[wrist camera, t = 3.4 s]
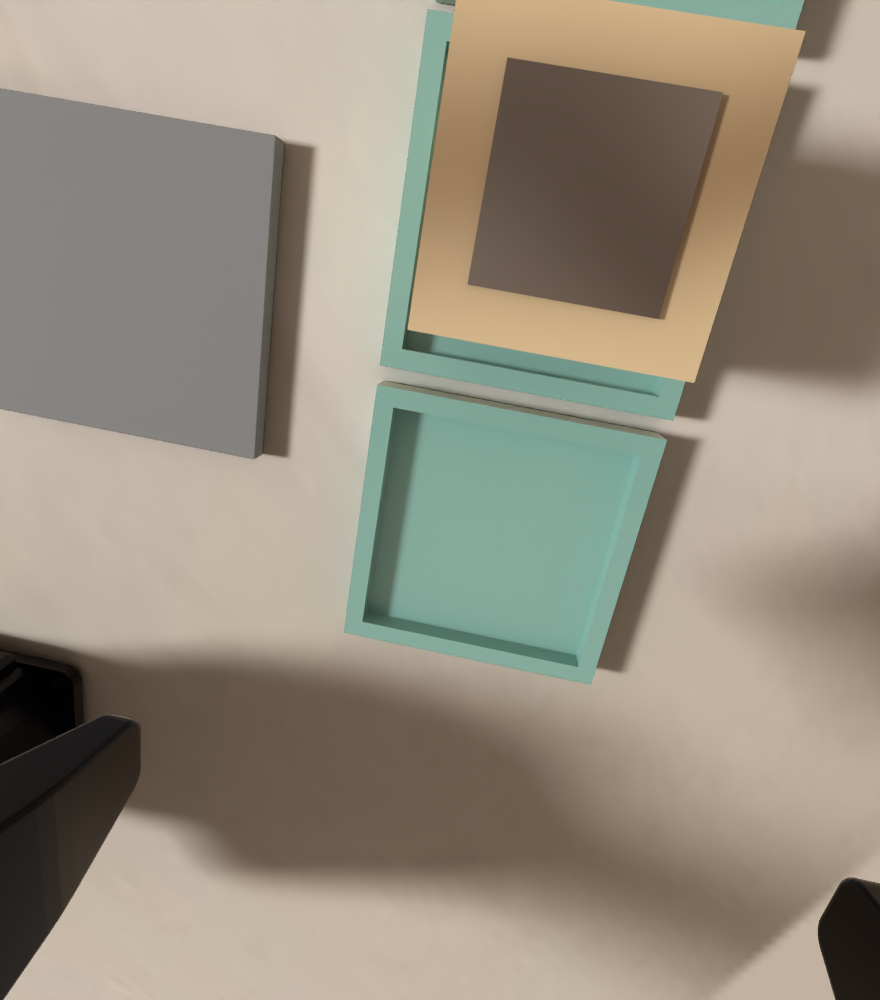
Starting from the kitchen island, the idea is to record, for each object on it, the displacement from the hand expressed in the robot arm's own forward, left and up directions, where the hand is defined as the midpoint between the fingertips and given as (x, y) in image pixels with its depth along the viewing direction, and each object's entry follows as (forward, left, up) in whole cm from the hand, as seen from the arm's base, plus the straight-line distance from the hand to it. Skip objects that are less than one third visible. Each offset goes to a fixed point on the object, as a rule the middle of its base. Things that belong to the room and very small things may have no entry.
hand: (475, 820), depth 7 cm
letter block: (+8, 0, -10) cm, 13 cm away
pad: (+5, +11, -10) cm, 16 cm away
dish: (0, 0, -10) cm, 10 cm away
